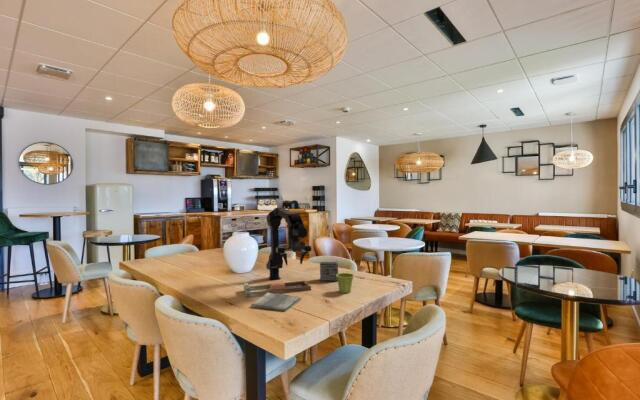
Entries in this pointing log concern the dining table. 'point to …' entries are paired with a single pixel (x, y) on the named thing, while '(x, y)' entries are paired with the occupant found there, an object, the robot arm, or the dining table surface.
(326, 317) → the dining table surface
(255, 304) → the dish towel
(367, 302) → the dining table surface
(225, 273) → the dining table surface
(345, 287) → the plant pot
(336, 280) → the small box
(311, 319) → the dining table surface
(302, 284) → the channel
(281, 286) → the block
